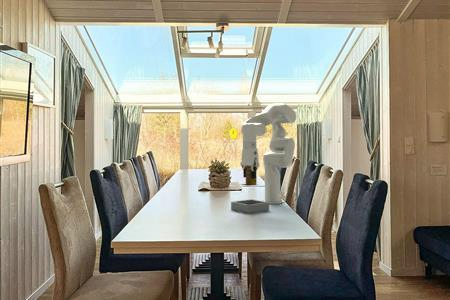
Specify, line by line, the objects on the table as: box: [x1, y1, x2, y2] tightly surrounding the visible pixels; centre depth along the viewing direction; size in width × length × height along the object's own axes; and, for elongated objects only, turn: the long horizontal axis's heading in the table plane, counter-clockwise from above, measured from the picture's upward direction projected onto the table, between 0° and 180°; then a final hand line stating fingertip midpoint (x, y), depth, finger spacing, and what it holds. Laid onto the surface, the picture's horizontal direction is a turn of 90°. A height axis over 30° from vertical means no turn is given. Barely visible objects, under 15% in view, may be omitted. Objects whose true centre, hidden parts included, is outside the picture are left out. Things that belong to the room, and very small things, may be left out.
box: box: [230, 199, 270, 214], centre depth 226 cm, size 15×15×4 cm
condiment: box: [239, 166, 260, 187], centre depth 226 cm, size 7×8×12 cm
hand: (249, 177), depth 226 cm, fingers closed on condiment, 6 cm apart
